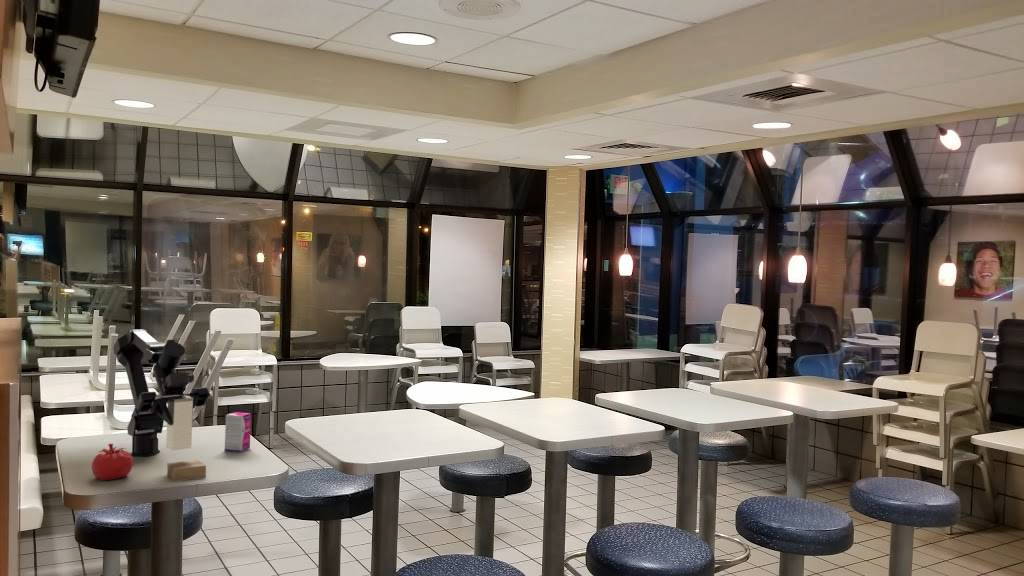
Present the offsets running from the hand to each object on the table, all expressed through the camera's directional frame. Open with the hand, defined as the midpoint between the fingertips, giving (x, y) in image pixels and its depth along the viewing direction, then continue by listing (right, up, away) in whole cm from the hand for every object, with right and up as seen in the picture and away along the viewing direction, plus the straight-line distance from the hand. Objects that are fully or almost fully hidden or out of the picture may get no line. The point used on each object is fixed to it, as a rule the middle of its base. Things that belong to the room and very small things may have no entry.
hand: (181, 423), depth 216 cm
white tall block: (-1, -7, +1) cm, 7 cm away
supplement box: (+5, -14, +29) cm, 33 cm away
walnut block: (+3, -14, -3) cm, 15 cm away
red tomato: (-16, -14, -6) cm, 22 cm away
